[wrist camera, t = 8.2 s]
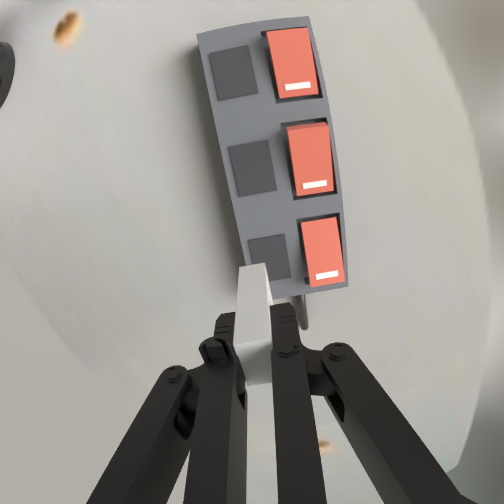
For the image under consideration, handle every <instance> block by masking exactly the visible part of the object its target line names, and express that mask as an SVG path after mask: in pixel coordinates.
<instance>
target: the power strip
mask: <svg viewBox="0 0 504 504" xmlns="http://www.w3.org/2000/svg"><path fill="white" fill-rule="evenodd" d="M307 27H308V32H309V38H310V43H311V49H312V54H313V60H314V67H315V73H316V80H317V86H318V93H319V94H311V95H303V96H295V97H287V98H279V97H278V92H277V87H276V82H275V76H274V71H273V66H272V61H271V56H270V51H269V46H268V41H267V37H266V32H269V31H276V30H285V29H295V28H307ZM196 35H197V40H198V45H199V50H200V54H201V59H202V64H203V69H204V74H205V79H206V83H207V88H208V93H209V98H210V103H211V107H212V112H213V117H214V121H215V126H216V131H217V136H218V140H219V145H220V150H221V154H222V159H223V163H224V168H225V173H226V177H227V182H228V187H229V191H230V196H231V200H232V205H233V209H234V214H235V218H236V223H237V228H238V232H239V237H240V241H241V246H242V250H243V255H244V259H245V263H246V266H248V265H254V264H260V263H265V266H266V271H267V276H268V281H269V286H270V291H271V296H272V299H278V298H284V297H290V296H296V295H297V301H298V309H299V316H300V324H301V329H302V330H307V329H308V318H307V309H306V300H305V294H308V293H314V292H320V291H326V290H331V289H337V288H342V287H348V268H347V250H346V236H345V223H344V212H343V201H342V192H341V183H340V175H339V167H338V159H337V152H336V145H335V138H334V132H333V126H332V120H331V114H330V108H329V103H328V98H327V92H326V87H325V82H324V78H323V73H322V68H321V64H320V59H319V55H318V51H317V47H316V42H315V38H314V35H313V31H312V27H311V23H310V19H309V16H305V17H293V18H282V19H274V20H266V21H259V22H252V23H246V24H241V25H235V26H230V27H225V28H221V29H216V30H212V31H208V32H204V33H200V34H196ZM320 122H325V123H326V124H327V125H328V126H329V136H330V147H331V159H332V173H333V188H334V191H328V192H321V193H315V194H308V195H302V196H297V194H296V191H295V186H294V178H293V171H292V164H291V158H290V151H289V144H288V138H287V132H286V127H290V126H297V125H304V124H312V123H320ZM333 217H336V220H337V226H338V232H339V239H340V246H341V253H342V260H343V268H344V276H345V281H344V282H339V283H333V284H328V285H322V286H316V287H310V285H309V278H308V271H307V264H306V258H305V251H304V245H303V239H302V233H301V227H300V223H302V222H308V221H314V220H320V219H327V218H333Z"/></svg>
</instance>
